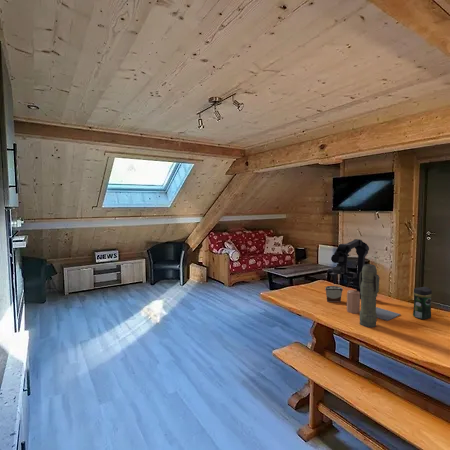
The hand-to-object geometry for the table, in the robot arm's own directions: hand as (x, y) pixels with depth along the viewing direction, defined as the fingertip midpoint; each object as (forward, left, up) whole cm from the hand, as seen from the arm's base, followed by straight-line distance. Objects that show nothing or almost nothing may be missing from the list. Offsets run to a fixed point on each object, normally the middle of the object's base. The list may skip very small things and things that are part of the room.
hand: (340, 285), depth 204 cm
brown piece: (+3, +11, -14) cm, 18 cm away
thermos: (+15, +28, -14) cm, 35 cm away
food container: (-5, -10, -14) cm, 18 cm away
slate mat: (-7, +24, -14) cm, 29 cm away
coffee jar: (-22, +41, -14) cm, 49 cm away
